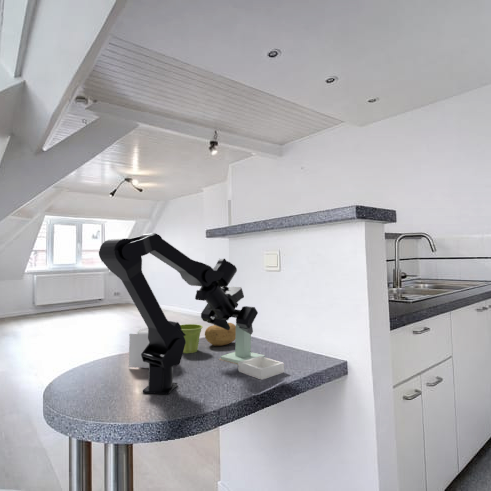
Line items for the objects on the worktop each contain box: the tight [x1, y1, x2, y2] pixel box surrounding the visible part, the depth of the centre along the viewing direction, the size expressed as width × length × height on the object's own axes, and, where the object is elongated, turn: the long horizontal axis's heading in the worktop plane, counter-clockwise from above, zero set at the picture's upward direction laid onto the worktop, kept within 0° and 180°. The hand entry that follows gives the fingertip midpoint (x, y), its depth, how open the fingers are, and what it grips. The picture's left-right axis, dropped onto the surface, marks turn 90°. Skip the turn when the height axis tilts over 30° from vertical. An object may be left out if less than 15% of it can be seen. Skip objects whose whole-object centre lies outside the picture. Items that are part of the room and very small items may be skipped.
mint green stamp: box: [220, 323, 266, 365], centre depth 106 cm, size 10×10×11 cm
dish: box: [238, 356, 285, 381], centre depth 93 cm, size 9×9×3 cm
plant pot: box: [180, 323, 203, 354], centre depth 115 cm, size 9×9×9 cm
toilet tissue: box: [128, 327, 164, 369], centre depth 101 cm, size 11×12×10 cm
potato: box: [204, 322, 236, 347], centre depth 124 cm, size 10×14×8 cm
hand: (240, 330), depth 105 cm, fingers open, 9 cm apart
